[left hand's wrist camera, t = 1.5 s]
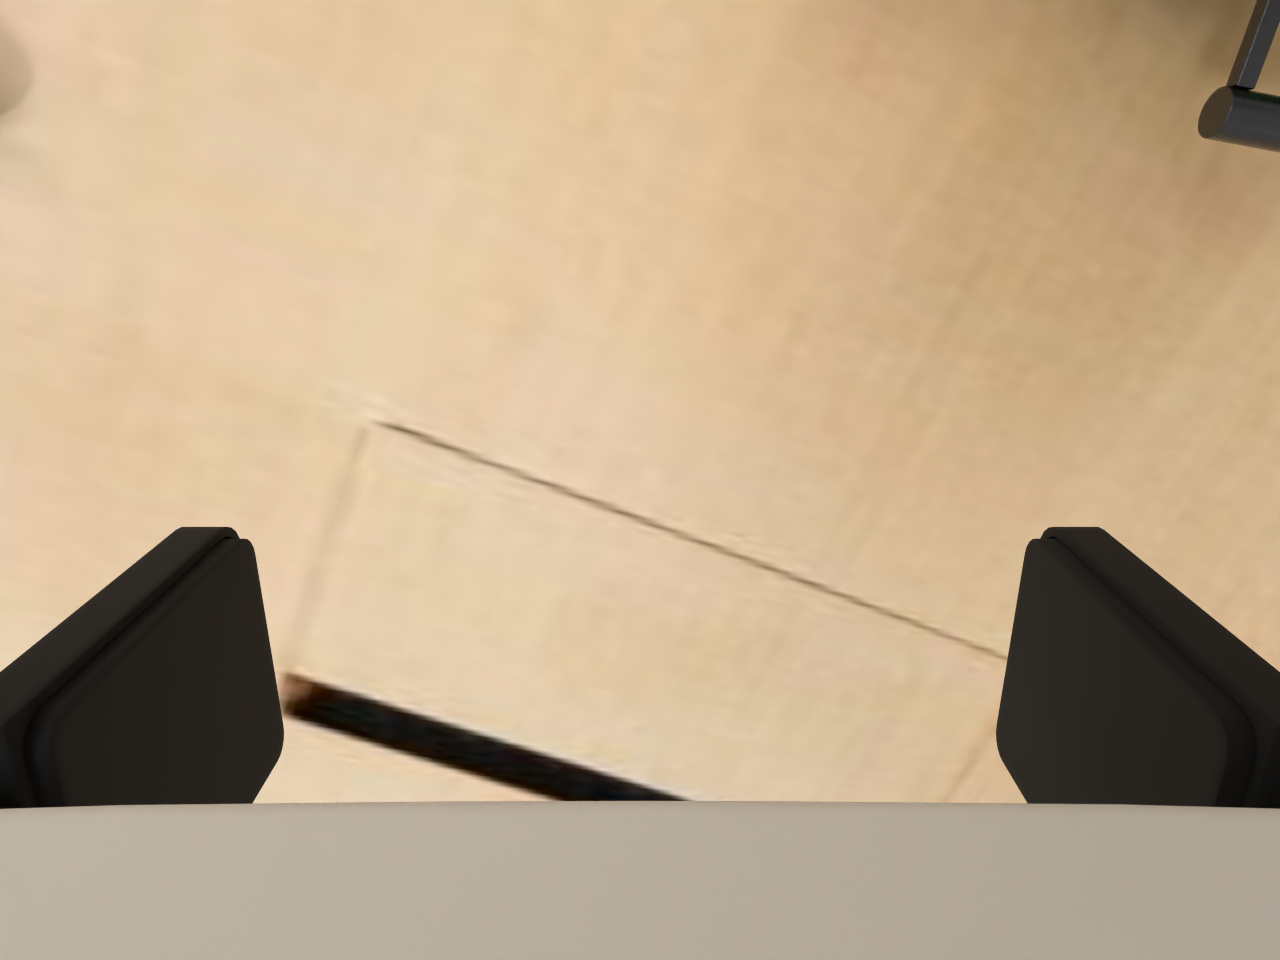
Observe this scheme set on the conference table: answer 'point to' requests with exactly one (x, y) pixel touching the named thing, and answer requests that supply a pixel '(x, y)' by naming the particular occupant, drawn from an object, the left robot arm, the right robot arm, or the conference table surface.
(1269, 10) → the drawer
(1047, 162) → the conference table surface
